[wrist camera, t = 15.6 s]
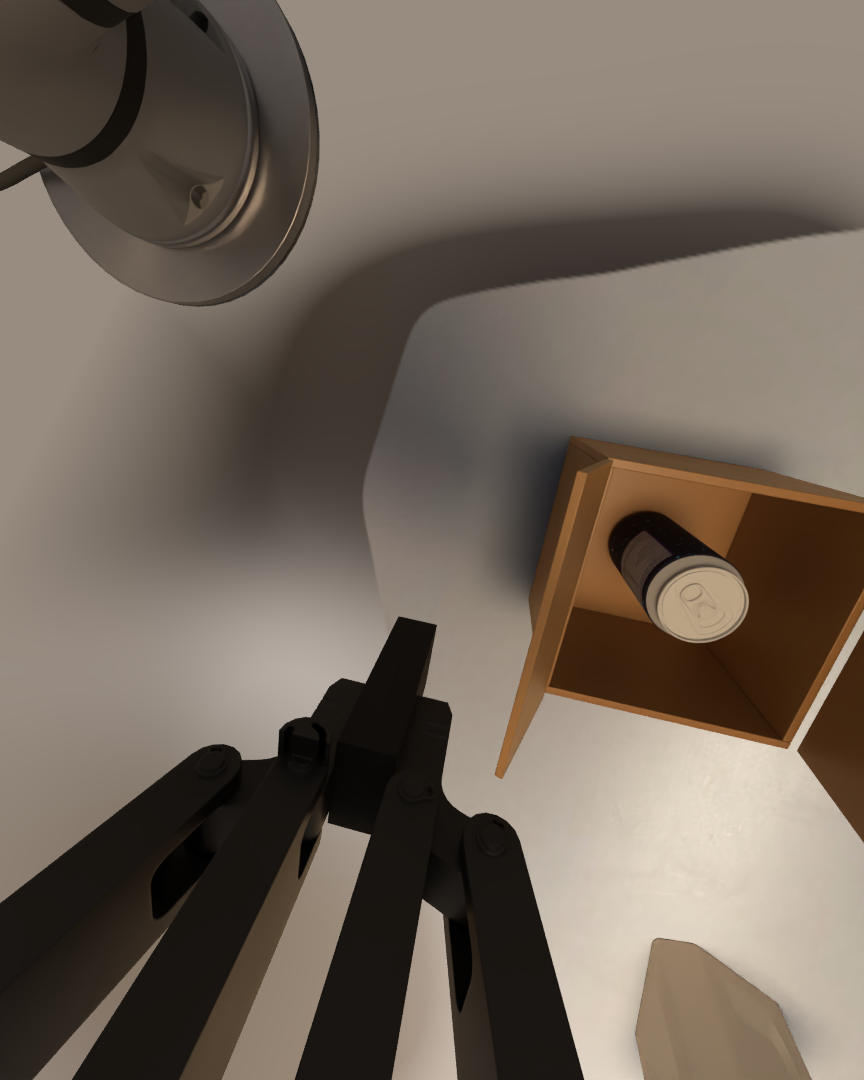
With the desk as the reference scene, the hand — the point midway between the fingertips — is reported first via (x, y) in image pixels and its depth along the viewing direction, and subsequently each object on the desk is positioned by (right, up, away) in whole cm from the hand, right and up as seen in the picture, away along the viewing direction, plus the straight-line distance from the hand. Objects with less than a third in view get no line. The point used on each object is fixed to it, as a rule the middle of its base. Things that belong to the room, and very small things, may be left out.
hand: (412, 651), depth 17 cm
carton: (+18, +4, +20) cm, 28 cm away
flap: (+7, +1, +5) cm, 8 cm away
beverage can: (+18, +4, +20) cm, 28 cm away
